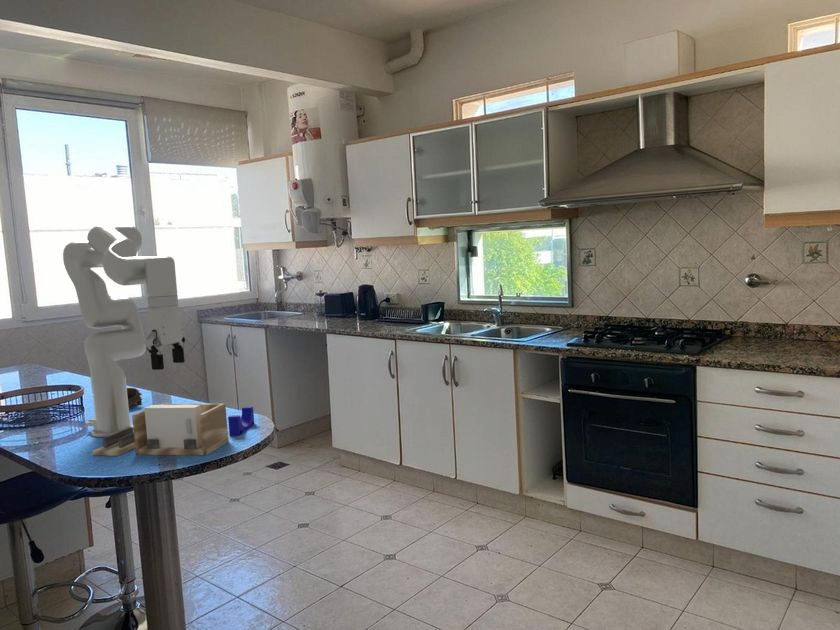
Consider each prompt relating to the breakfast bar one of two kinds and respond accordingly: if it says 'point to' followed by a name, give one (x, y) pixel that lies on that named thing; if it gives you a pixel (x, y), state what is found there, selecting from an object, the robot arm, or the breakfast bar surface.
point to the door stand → (117, 443)
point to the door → (173, 424)
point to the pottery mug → (133, 396)
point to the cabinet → (211, 434)
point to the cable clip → (241, 421)
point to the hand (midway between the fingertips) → (168, 365)
